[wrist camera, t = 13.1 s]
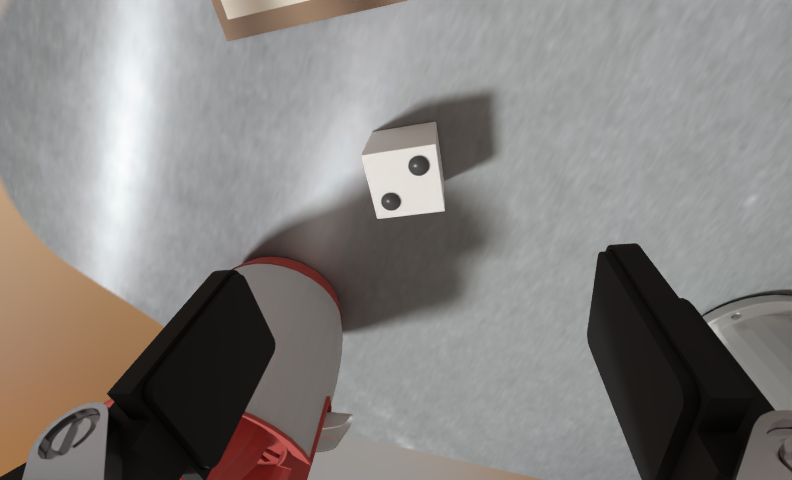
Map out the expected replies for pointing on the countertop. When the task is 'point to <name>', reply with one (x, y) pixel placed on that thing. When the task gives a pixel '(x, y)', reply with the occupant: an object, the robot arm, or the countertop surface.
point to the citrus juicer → (289, 377)
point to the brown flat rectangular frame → (282, 13)
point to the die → (405, 170)
